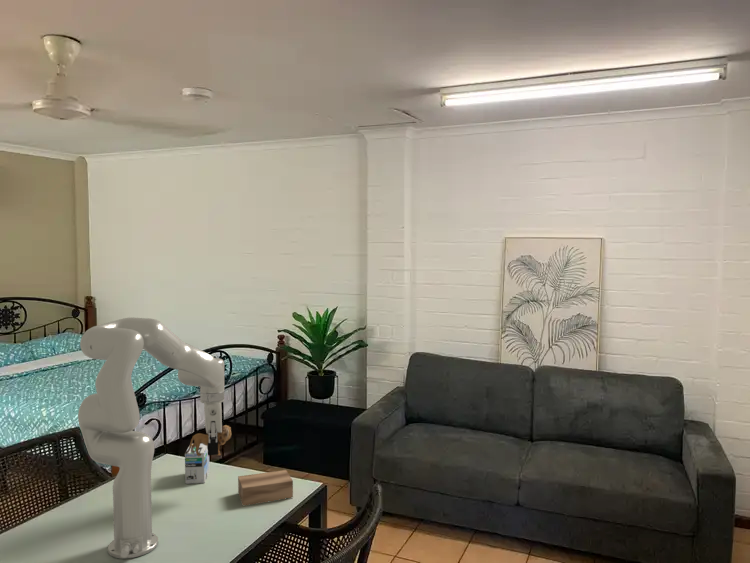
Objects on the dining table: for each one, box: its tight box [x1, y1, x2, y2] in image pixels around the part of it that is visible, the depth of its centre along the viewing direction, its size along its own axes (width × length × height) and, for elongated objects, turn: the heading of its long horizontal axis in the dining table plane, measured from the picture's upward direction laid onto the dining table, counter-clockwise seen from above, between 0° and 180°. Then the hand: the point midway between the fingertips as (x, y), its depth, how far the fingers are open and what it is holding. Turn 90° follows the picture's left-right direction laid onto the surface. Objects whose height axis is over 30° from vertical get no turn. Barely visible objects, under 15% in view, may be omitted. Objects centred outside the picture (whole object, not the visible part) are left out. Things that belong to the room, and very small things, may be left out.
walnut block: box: [237, 469, 294, 506], centre depth 192 cm, size 10×16×6 cm, turn 111°
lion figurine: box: [184, 424, 232, 456], centre depth 192 cm, size 15×5×9 cm, turn 104°
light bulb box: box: [184, 443, 210, 485], centre depth 207 cm, size 11×7×11 cm, turn 7°
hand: (212, 451), depth 192 cm, fingers closed on lion figurine, 4 cm apart
